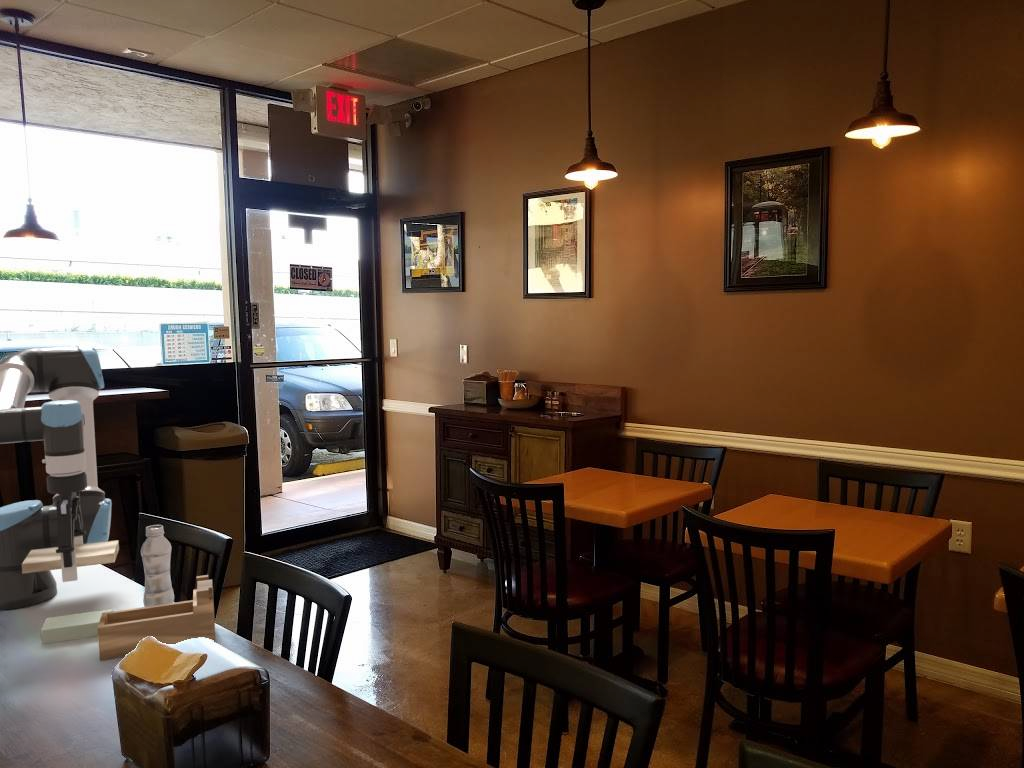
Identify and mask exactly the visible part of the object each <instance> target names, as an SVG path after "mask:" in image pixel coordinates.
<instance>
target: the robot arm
mask: <svg viewBox="0 0 1024 768" xmlns="http://www.w3.org/2000/svg"><path fill="white" fill-rule="evenodd" d="M102 372H103V370H102V367H101V362H100V358H99V354H98V351H97V349H95V347H92V346H78V345H76V346H56V347H31V348H26V349H22V350H19V351H18V350H17V351H16V352H14V353H12V354H10V355H7V356H6V357H5V358H3V359H1V360H0V445H2V444H3V445H4V444H15V443H23V442H37V441H43V446H44V458H43V459H42V460H41V462H42V464H45V472H46V473H47V476H46V488H47V489H46V490H47V493H49V494H53V497H52V504H50V505H44V504H43V502H42V501H41V500H38V499H34V500H33V499H32V500H31V499H30V500H24V501H18V502H14V503H11V504H7V505H3V506H1V507H0V610H1V611H2V610H14V609H20V608H25V607H29V606H33V605H37V604H39V603H43V602H46V601H47V600H49V599H51V598H53V597H54V596H56V594H57V592H58V588H57V587H58V585H57V581H56V579H55V577H54V575H53V573H52V570H48V571H40V572H31V573H23V574H22V563H23V561H24V560H25V559H26V557H27V556H28V554H29V553H30V551H31V550H36V549H45V548H54V547H58V550H56V553H60V555H61V568H62V569H61V578H62V579H61V580H62V583H67V582H74V581H75V582H76V581H78V567H77V564H76V551H75V550H74V545H81V544H89V543H98V542H107V541H109V537H110V530H111V521H112V505H113V503H112V499H110V498H109V497H108V498H106V493H105V491H104V490H102V489H101V488H99V487H98V486H99V485H98V483H99V482H98V467H97V453H96V452H97V451H96V436H95V435H96V432H95V417H94V416H95V415H94V414H95V413H94V400H96V399H97V398H98V397H99V396H100V391H99V390H102V389H104V388H105V381H104V377H103V373H102ZM47 392H48V398H49V399H50V400H51V401H48V402H44V403H42V405H41V406H35V407H33V406H31V407H25V404H26V399H27V395H28V394H29V393H47Z"/></svg>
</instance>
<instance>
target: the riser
mask: <svg viewBox="0 0 1024 768" xmlns="http://www.w3.org/2000/svg"><path fill="white" fill-rule="evenodd" d="M106 612H113V608H110V609H109V608H108V609H103V610H102V609H101V610H95V611H93V610H92V611H87V612H81V613H73V614H67V615H59V616H53V617H52V616H51V617H46V619H45V621H44V623H43V625H42V626H41V629H40V640H41V644H42V645H45V644H53V643H57V642H65V641H70V640H71V641H72V640H79V639H83V638H91V637H98V625H99V621H100V618H101V615H102V613H106Z"/></svg>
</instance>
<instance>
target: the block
mask: <svg viewBox="0 0 1024 768" xmlns="http://www.w3.org/2000/svg"><path fill="white" fill-rule="evenodd" d="M205 588H208V589H209V599H210V598H213V599H214V587H213V579H212V578H211V579H208V580H204V581H197V580H196V589H205Z"/></svg>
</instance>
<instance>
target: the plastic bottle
mask: <svg viewBox="0 0 1024 768" xmlns="http://www.w3.org/2000/svg"><path fill="white" fill-rule="evenodd" d="M164 534H165V531H164V526H163V525H162V524H153V525H149V526H146V527H145V537H147V538H146V539H145V541H144V542H143V543H142V546H141V548H140V556H141V560H142V564H143V570H144V592H143V601H142V602H143V607H148V606H155V605H162V604H169V603H175V594H174V592H175V591H174V588H173V587H172V580H171V557H172V556H171V555H172V545H171V542H170V541H169V540H168V539H167V538H166V537H165V536H164Z"/></svg>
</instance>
